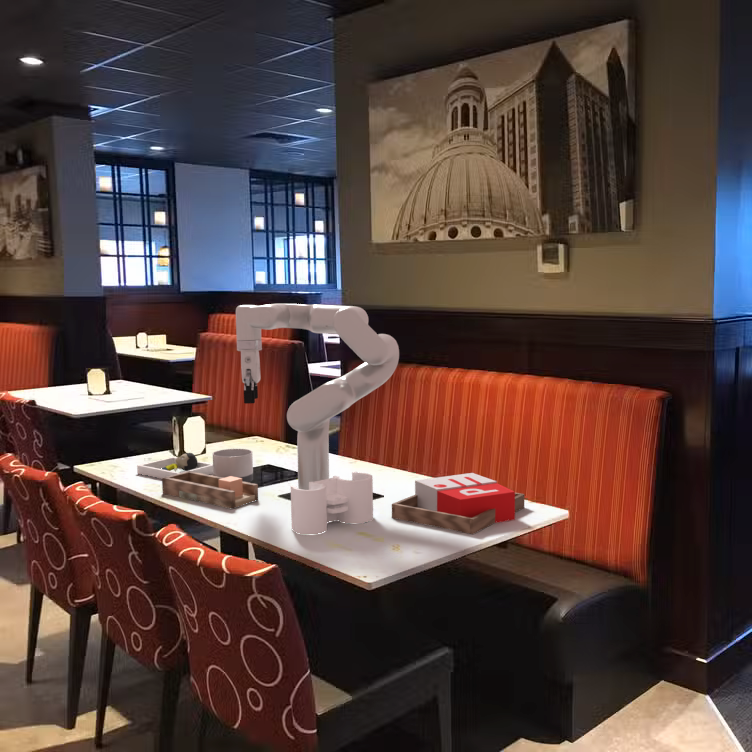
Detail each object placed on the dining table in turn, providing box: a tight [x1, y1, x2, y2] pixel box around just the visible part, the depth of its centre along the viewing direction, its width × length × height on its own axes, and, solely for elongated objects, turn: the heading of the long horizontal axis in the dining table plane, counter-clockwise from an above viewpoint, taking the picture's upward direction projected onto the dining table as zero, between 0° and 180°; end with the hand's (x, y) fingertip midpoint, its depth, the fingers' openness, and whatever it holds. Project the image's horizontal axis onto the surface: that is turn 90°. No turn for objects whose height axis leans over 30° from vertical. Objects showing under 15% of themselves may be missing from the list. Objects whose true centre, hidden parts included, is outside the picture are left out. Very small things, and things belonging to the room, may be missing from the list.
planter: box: [212, 448, 254, 483], centre depth 270 cm, size 13×13×10 cm
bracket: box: [290, 471, 374, 535], centre depth 225 cm, size 25×10×12 cm, turn 131°
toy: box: [162, 452, 198, 472], centre depth 285 cm, size 9×6×15 cm
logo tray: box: [391, 492, 525, 535], centre depth 234 cm, size 26×30×4 cm
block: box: [218, 476, 243, 497], centre depth 248 cm, size 5×5×5 cm
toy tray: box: [136, 456, 213, 480], centre depth 285 cm, size 22×16×3 cm
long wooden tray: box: [161, 471, 259, 510], centre depth 254 cm, size 31×11×5 cm, turn 54°
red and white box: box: [414, 472, 516, 524], centre depth 234 cm, size 24×8×20 cm
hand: (251, 400), depth 253 cm, fingers open, 9 cm apart
